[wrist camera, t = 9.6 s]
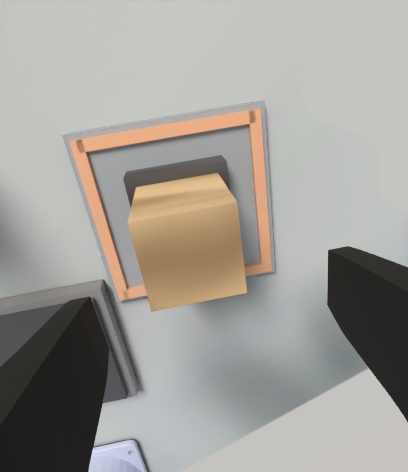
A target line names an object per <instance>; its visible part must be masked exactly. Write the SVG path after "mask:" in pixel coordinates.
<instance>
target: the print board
mask: <svg viewBox="0 0 408 472" xmlns="http://www.w3.org/2000/svg"><path fill="white" fill-rule="evenodd" d="M62 136H63V139H64V142H65V145H66V148H67V151H68V154H69V157H70V161H71V164H72V167H73V170H74V173H75V176H76V179H77V182H78V185H79V188H80V191H81V194H82V198H83V201H84V204H85V207H86V210H87V213H88V216H89V219H90V222H91V225H92V228H93V231H94V235H95V238H96V241H97V244H98V247H99V250H100V253H101V256H102V259H103V262H104V265H105V268H106V272H107V275H108V278H109V281H110V284H111V287H112V290H113V293H114V296H115V299H116V302H117V303H118V302H123V301H128V300H133V299H138V298H143V297H147V293H146V289H145V286H144V282H143V278H142V274H141V271H140V267H139V263H138V260H137V256H136V252H135V248H134V245H133V241H132V237H131V234H130V230H129V226H128V218H129V214H130V210H131V207H130V204H129V200H128V196H127V192H126V188H125V184H124V180H123V178H124V176H125V173H126V171H132V170H138V169H144V168H149V167H155V166H161V165H167V164H172V163H178V162H184V161H190V160H195V159H201V158H207V157H212V156H218V155H222V156H223V157H224V158H225V160H226V161H227V168H228V177H229V185H230V192H231V193H232V195H233V196H234V198H235V199H236V201H237V203H238V212H239V222H240V231H241V240H242V249H243V258H244V268H245V277H251V276H256V275H262V274H267V273H272V272H275V258H274V242H273V226H272V211H271V195H270V179H269V164H268V148H267V132H266V117H265V101H257V102H251V103H246V104H240V105H234V106H228V107H222V108H216V109H210V110H204V111H198V112H192V113H186V114H180V115H175V116H169V117H163V118H157V119H151V120H145V121H139V122H133V123H127V124H121V125H115V126H110V127H104V128H98V129H92V130H86V131H80V132H74V133H68V134H64V135H62Z"/></svg>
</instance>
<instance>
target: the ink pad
mask: <svg viewBox="0 0 408 472" xmlns="http://www.w3.org/2000/svg"><path fill="white" fill-rule="evenodd" d="M89 296H90V298H91V301H92V303H93V306H94V309H95V311H96V314H97V317H98V320H99V322H100V325H101V328H102V331H103V333H104V336H105V339H106V341H107V344H108V347H109V361H108V374H107V383H106V388H105V393H104V398H103V403H106V402H110V401H115V400H120V399H125V398H127V397H131V396H135V395H137V385H138V383H137V380H136V377H135V374H134V371H133V368H132V365H131V362H130V359H129V356H128V353H127V350H126V347H125V344H124V341H123V338H122V335H121V332H120V329H119V326H118V323H117V320H116V317H115V314H114V311H113V308H112V305H111V302H110V299H109V296H108V293H107V290H106V287H105V284H104V281H103V279H102V280H97V281H92V282H87V283H81V284H76V285H71V286H66V287H60V288H55V289H50V290H45V291H39V292H34V293H29V294H24V295H18V296H13V297H8V298H3V299H0V367H1V366H2V365H3V364H4V363H5V362H6V361H7V360H8V359H9V358H10V357H11V356H13V355H14V354H15V353H16V352H17V351H18V350H19V349H20V348H21V347H22V346H23V345H24V344H25V343H26V342H27V341H28V340H29V339H30V338H31V337H32V336H33V335H34V334H35V333H36V332H37V331H38V330H39V329H40V328H41V327H42V326H43V325H44V324H45V323H46V322H47V321H48V320H49V319H50V318H51V317H52V316H53V315H54V314H55V313H56V312H57V311H58V310H59V309H60V308H61V307H62V306H63V305H64V304H66V303H67V302H68V301H69V300H74V299H79V298H84V297H89Z"/></svg>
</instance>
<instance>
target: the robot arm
mask: <svg viewBox="0 0 408 472" xmlns="http://www.w3.org/2000/svg"><path fill="white" fill-rule="evenodd" d="M327 305H328V307H329V309H330V310H331V312H332V314H333V316H334V318H335V320H336V322H337V323H338V325H339V327H340V328H341V330H342V332H343V333H344V335H345V336H346V338H347V339H348V340H349V342H350V343H351V344H352V346H353V347H354V349H355V350H356V351H357V353H358V354H359V355H360V357H361V358H362V359H363V361H364V362H365V363H366V365H367V366H368V367H369V369H370V370H371V371H372V373H373V374H374V375H375V376H376V378H377V379H378V380H379V382H380V383H381V384H382V386H383V387H384V388H385V389H386V391H387V392H388V394H389V395H390V396H391V398H392V399H393V401H394V402H395V403H396V405H397V406H398V408H399V409H400V411H401V412H402V414H403V415H404V417H405V418H406V420H407V422H408V267H405V266H403V265H400V264H397V263H395V262H392V261H389V260H387V259H384V258H381V257H379V256H376V255H373V254H370V253H368V252H365V251H362V250H359V249H356V248H352V247H349V246H347V247H342V248H337V249H332V250H328V303H327ZM108 361H109V347H108V344H107V341H106V339H105V336H104V333H103V331H102V328H101V325H100V322H99V320H98V317H97V314H96V311H95V309H94V306H93V303H92V301H91V298H90V296H89V297H84V298H79V299H74V300H69V301H68V302H67V303H66V304H64V305H63V306H62V307H61V308H60V309H59V310H58V311H57V312H56V313H55V314H54V315H53V316H52V317H51V318H50V319H49V320H48V321H47V322H46V323H45V324H44V325H43V326H42V327H41V328H40V329H39V330H38V331H37V332H36V333H35V334H34V335H33V336H32V337H31V338H30V339H29V340H28V341H27V342H26V343H25V344H24V345H23V346H22V347H21V348H20V349H19V350H18V351H17V352H16V353H15V354H14V355H13V356H11V357H10V358H9V359H8V360H7V361H6V362H5V363H4V364H3V365H2V366H1V367H0V472H147V470H146V467H145V464H144V462H143V459H142V456H141V454H140V451H139V449H138V446H137V443H136V442H135V441H134V440H127V441H122V442H118V443H113V444H108V445H104V446H99V447H94V448H93V446H94V441H95V436H96V432H97V427H98V422H99V418H100V413H101V408H102V403H103V398H104V393H105V388H106V383H107V374H108Z"/></svg>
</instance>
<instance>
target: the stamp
mask: <svg viewBox="0 0 408 472" xmlns="http://www.w3.org/2000/svg"><path fill="white" fill-rule="evenodd" d="M123 180H124V184H125V188H126V192H127V196H128V200H129V204H130V207H131V210H130V214H129V218H128V226H129V230H130V234H131V237H132V241H133V245H134V248H135V252H136V256H137V260H138V263H139V267H140V271H141V274H142V278H143V282H144V286H145V289H146V293H147V297H148V300H149V304H150V308H151V312H152V311H157V310H162V309H167V308H173V307H178V306H183V305H188V304H193V303H198V302H203V301H208V300H214V299H219V298H224V297H229V296H234V295H239V294H244V293H247V286H246V277H245V268H244V258H243V249H242V240H241V231H240V222H239V212H238V203H237V201H236V199H235V198H234V196H233V195H232V193H231V192H230V185H229V177H228V168H227V161H226V160H225V158H224V157H223V156H222V155H218V156H212V157H207V158H201V159H195V160H190V161H184V162H178V163H172V164H167V165H161V166H155V167H149V168H144V169H138V170H132V171H126V173H125V176H124V178H123Z"/></svg>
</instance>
